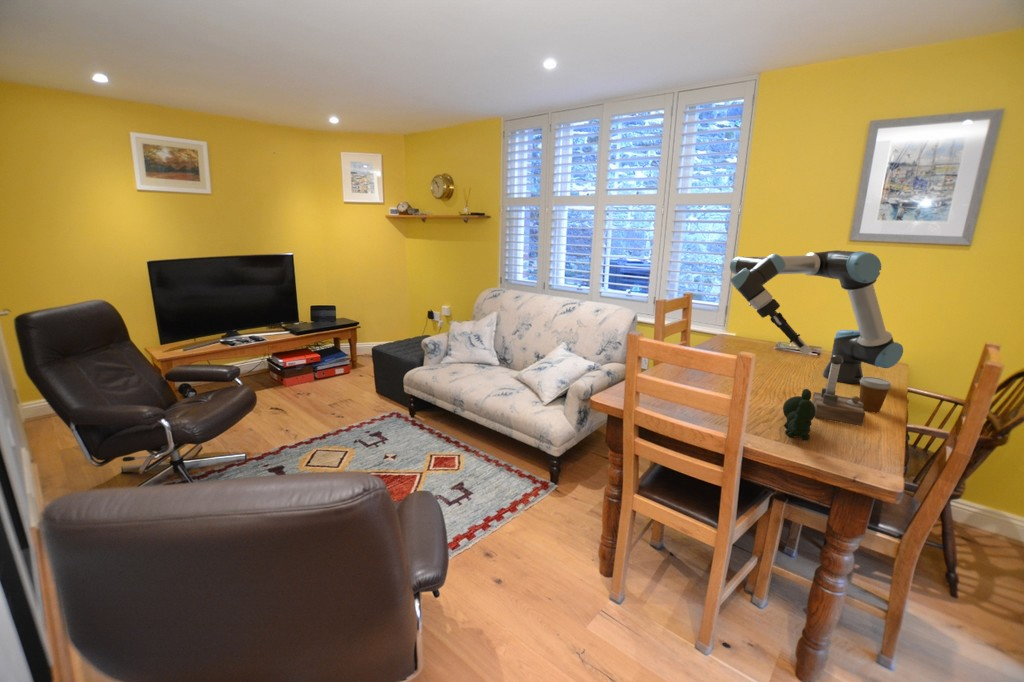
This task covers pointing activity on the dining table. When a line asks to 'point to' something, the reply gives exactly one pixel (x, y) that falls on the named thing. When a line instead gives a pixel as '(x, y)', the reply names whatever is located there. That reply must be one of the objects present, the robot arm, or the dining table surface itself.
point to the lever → (833, 373)
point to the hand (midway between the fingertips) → (807, 352)
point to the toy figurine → (799, 415)
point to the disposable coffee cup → (873, 393)
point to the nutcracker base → (838, 408)
